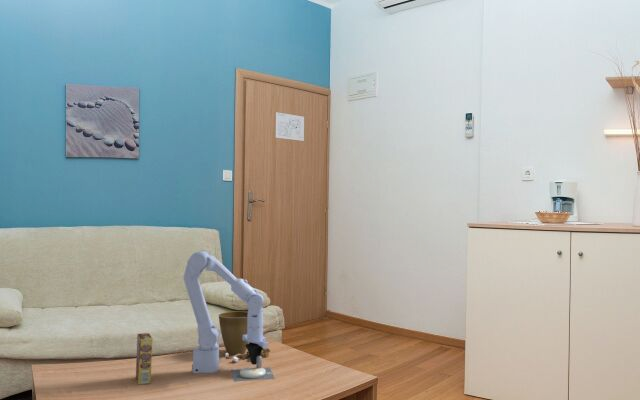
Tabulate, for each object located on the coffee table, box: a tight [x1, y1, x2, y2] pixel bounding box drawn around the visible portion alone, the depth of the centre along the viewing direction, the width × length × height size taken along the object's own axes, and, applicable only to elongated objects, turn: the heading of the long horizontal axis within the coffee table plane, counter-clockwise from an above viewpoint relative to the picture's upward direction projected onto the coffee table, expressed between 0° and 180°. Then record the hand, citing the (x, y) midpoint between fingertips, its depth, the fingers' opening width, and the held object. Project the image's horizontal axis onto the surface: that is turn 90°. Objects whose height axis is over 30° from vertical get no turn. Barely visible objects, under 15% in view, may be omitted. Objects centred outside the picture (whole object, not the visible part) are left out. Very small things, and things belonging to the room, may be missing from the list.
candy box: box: [135, 332, 154, 385], centre depth 174 cm, size 9×4×15 cm, turn 26°
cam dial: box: [240, 356, 266, 378], centre depth 178 cm, size 9×9×5 cm
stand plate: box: [231, 367, 276, 383], centre depth 178 cm, size 14×13×1 cm
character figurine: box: [225, 347, 271, 364], centre depth 199 cm, size 10×18×4 cm, turn 122°
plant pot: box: [218, 310, 249, 356], centre depth 209 cm, size 15×15×16 cm
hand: (254, 363), depth 184 cm, fingers closed
